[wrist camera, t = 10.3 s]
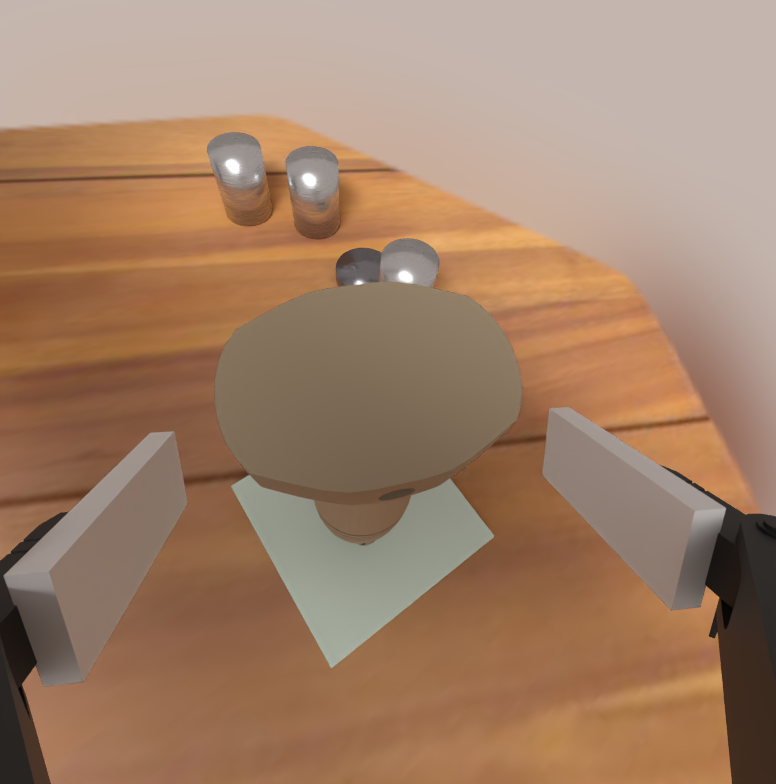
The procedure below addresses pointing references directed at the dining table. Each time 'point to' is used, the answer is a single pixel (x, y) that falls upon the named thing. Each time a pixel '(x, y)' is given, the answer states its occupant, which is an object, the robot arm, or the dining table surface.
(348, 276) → the disc
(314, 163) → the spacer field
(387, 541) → the pad
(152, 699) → the dining table surface
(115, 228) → the dining table surface
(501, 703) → the dining table surface
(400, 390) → the handle
